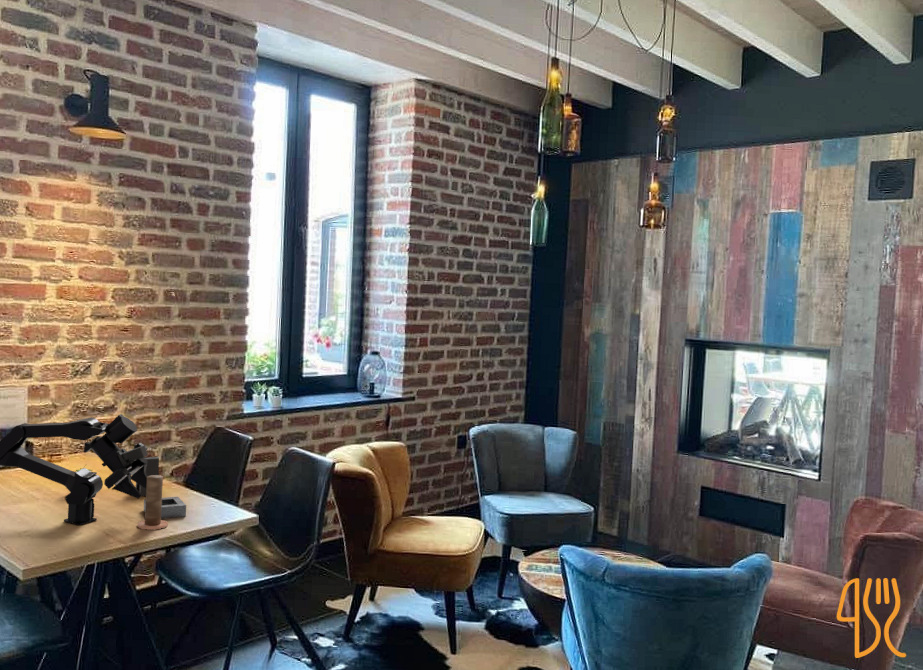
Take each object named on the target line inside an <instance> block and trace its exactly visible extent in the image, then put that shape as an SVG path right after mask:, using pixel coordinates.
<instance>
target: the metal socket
mask: <svg viewBox="0 0 923 670" xmlns="http://www.w3.org/2000/svg"><path fill="white" fill-rule="evenodd" d="M145 507H146V498H144V501H143V512H145ZM171 517H173V518H182V517H187V504H186V503H185V502H184V501H183V500H182V499H181V498H180V496H167V497H162V507H161V520H163V519H171ZM162 518H163V519H162Z"/></svg>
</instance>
